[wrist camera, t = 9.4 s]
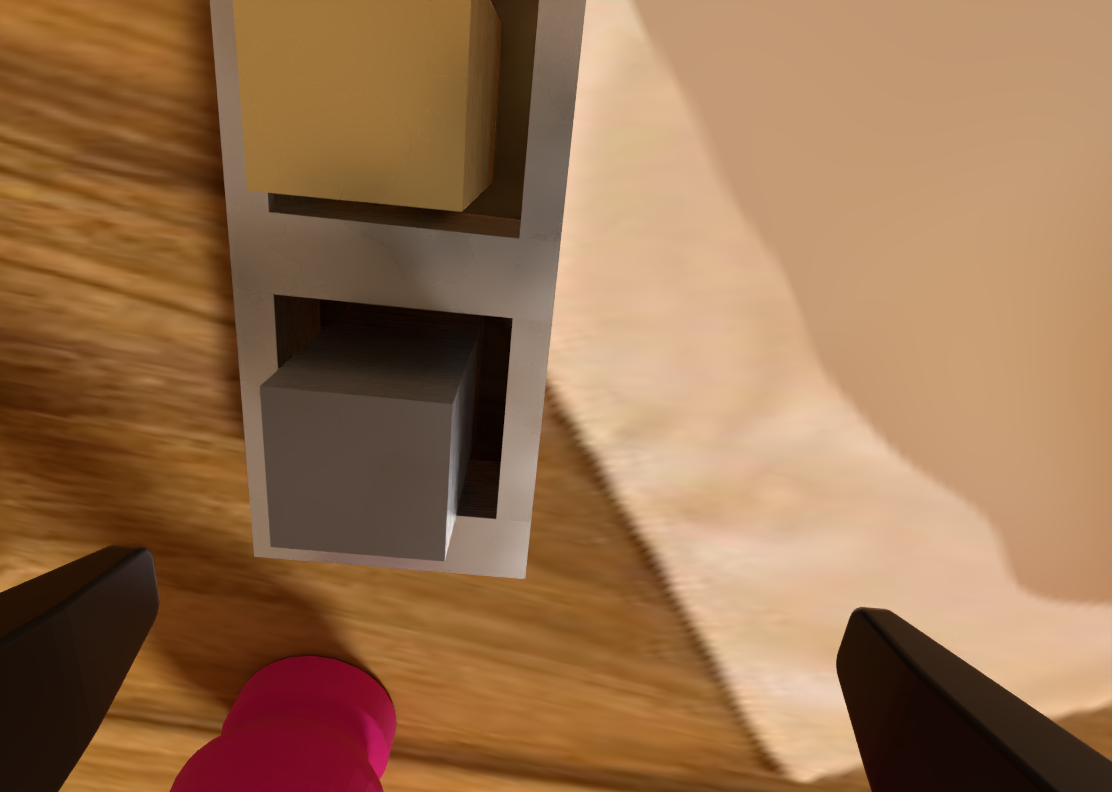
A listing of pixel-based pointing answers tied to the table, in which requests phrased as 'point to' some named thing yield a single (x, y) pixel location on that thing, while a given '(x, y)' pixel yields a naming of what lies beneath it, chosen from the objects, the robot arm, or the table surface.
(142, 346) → the table surface
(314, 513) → the grey slotted block holder
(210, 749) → the pepper mill
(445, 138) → the wooden toy block
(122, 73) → the table surface
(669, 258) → the table surface
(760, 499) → the table surface
